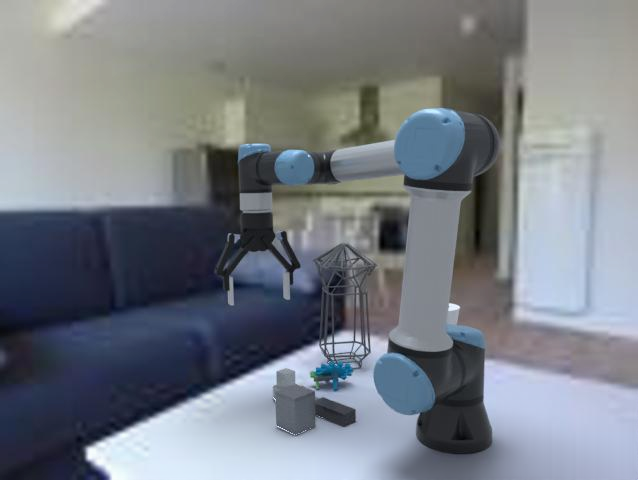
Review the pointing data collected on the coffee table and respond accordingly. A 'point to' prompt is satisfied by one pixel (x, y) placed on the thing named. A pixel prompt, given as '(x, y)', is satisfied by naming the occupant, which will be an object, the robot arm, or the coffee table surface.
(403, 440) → the coffee table surface
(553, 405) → the coffee table surface
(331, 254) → the geometric lantern
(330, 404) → the ratchet
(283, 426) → the grey rectangular block
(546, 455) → the coffee table surface
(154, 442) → the coffee table surface
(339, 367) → the gear
